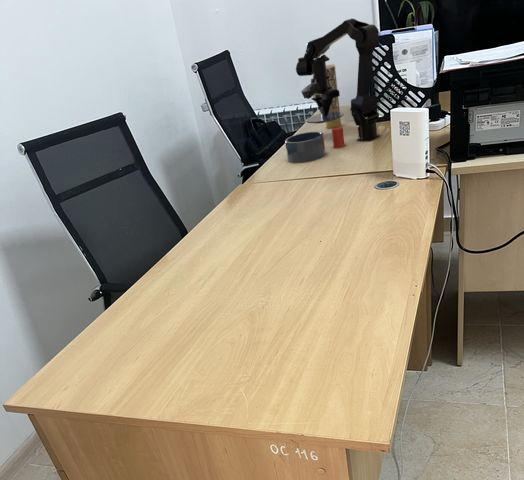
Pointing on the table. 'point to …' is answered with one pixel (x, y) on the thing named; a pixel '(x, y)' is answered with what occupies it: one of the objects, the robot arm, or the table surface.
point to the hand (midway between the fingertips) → (324, 115)
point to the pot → (305, 147)
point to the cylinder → (338, 137)
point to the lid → (324, 117)
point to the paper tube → (335, 102)
